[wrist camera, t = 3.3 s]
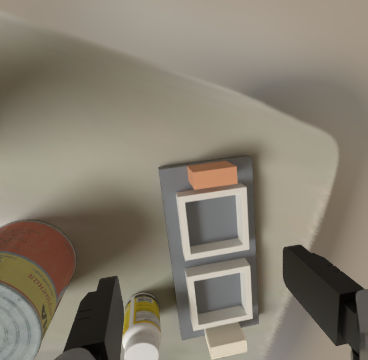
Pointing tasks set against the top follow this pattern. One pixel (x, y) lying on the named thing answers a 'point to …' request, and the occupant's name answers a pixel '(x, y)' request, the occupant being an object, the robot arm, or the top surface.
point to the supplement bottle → (141, 328)
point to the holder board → (213, 250)
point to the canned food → (31, 284)
